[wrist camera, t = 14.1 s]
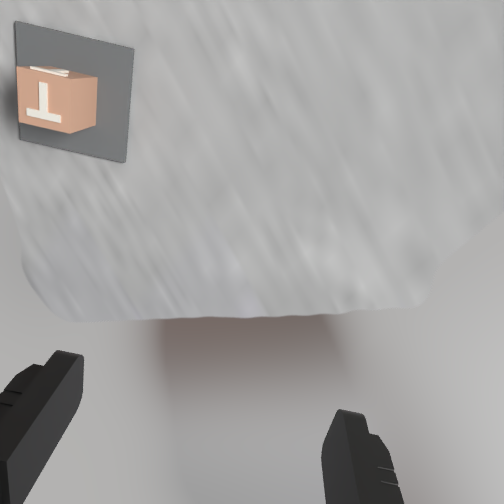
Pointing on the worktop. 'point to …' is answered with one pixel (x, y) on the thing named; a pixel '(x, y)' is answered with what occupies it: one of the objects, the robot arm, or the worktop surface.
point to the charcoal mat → (90, 63)
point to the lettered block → (56, 98)
